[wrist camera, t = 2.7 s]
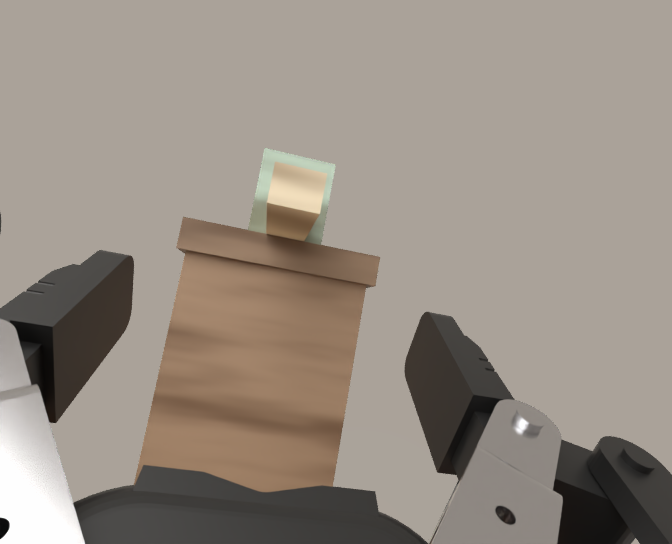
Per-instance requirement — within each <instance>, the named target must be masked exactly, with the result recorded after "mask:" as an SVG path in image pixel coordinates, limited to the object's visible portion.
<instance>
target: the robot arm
mask: <svg viewBox="0 0 672 544" xmlns="http://www.w3.org/2000/svg"><path fill="white" fill-rule="evenodd" d="M0 232H1V214H0ZM133 274H134V261H133V258H132V256H129V255H124V254H118V253H113V252H107V251H103V250H99V251H97V252H96V253H95V254H93V255H92V256H91V257H90V258H88V259H87V260H86V261H84V262H83V263H82V264H81V265H75V264H72V265H69V266H66V267H63V268H60V269H57V270H54V271H52V272H50V273H49V274H47V275H46V276H45V277H43V278H42V279H41V280H39V281H38V283H35V284H34V285H32V286H31V287H30V288H28V289H27V291H26V292H22V293H21V294H20V295H18V296H17V297H15V298H14V299H13V300H11V301H10V302H9V303H7V304H6V305H4V306H3V307H2V308H0V544H631V543H632V542H633V540H634V539H635V538H636V539H637V540H638V541H639V543H640V544H672V475H671V474H670V472H669V471H668V470H667V469H666V468H665V467H664V466H663V465H662V464H661V463H660V462H659V461H658V460H657V459H656V458H654V457H653V456H652V455H651V454H649V453H648V452H646V451H645V450H643V449H642V448H640V447H638V446H637V445H635V444H633V443H631V442H629V441H626V440H623V439H621V438H617V437H611V436H606V437H603V438H601V439H600V441H599V442H598V444H597V445H596V447H595V449H594V450H593V451H590V450H588V449H585V448H582V447H580V446H577V445H574V444H572V443H569V442H566V441H564V440H561V434H560V432H559V430H558V428H557V427H556V425H555V424H554V423H553V422H552V421H551V420H550V419H549V418H548V417H547V416H546V415H545V414H543V413H542V412H540V411H539V410H537V409H535V408H534V407H532V406H530V405H528V404H525V403H523V402H520V401H516V400H514V398H513V397H512V395H511V394H510V392H509V391H508V389H507V388H506V386H505V385H504V383H503V382H502V380H501V379H500V377H499V376H498V374H497V373H496V372H494V368H493V366H492V365H491V363H490V362H488V359H487V357H486V356H485V354H484V353H483V351H482V350H481V348H480V347H479V346H478V345H476V344H475V343H474V342H473V341H472V340H471V339H469V338H468V337H467V336H464V335H463V333H462V331H461V330H460V328H459V327H458V325H457V323H456V322H455V320H454V319H453V318H452V317H451V316H446V315H441V314H435V313H430V312H425V313H424V314H423V315H422V317H421V319H420V322H419V325H418V327H417V330H416V333H415V335H414V338H413V341H412V344H411V346H410V349H409V352H408V355H407V357H406V362H405V377H406V381H407V384H408V387H409V390H410V393H411V396H412V399H413V401H414V404H415V408H416V411H417V414H418V416H419V420H420V422H421V425H422V428H423V431H424V434H425V437H426V440H427V443H428V446H429V449H430V452H431V455H432V458H433V461H434V464H435V467H436V470H437V472H438V473H445V474H453V475H457V477H458V480H459V481H458V483H457V485H456V486H455V488H454V491H453V493H452V495H451V497H450V499H449V501H448V503H447V505H446V507H445V510H444V512H443V514H442V516H441V518H440V520H439V522H438V524H437V526H436V528H435V531H434V533H433V535H432V537H431V539H430V541H429V543H427V542H426V541H424V539H423V538H421V536H419V535H418V534H417V533H415V532H414V531H413V530H411V529H410V528H409V527H407V526H406V525H404V524H402V523H401V522H399V521H398V520H396V519H394V518H392V517H390V516H388V515H386V514H383V513H381V512H378V506H377V500H376V494H375V491H366V490H358V489H349V488H340V487H332V486H323V485H321V486H313V487H305V488H297V489H289V490H281V491H274V492H260V491H256V490H253V489H250V488H248V487H245V486H242V485H239V484H237V483H234V482H231V481H228V480H225V479H223V478H220V477H217V476H214V475H212V474H209V473H206V472H201V471H193V470H184V469H175V468H167V467H158V466H149V465H143V467H142V469H141V472H140V474H139V476H138V479H137V481H136V483H135V485H130V486H123V487H119V488H114V489H110V490H106V491H103V492H100V493H97V494H94V495H91V496H88V497H86V498H84V499H81V500H79V501H76V502H74V503H73V501H72V498H71V494H70V491H69V488H68V485H67V481H66V477H65V474H64V471H63V467H62V464H61V461H60V457H59V454H58V450H57V447H56V444H55V440H54V437H53V433H52V430H51V427H50V424H49V422H51V423H56V422H57V421H58V419H59V418H60V417H61V416H62V414H63V413H64V412H65V410H66V409H67V408H68V406H69V405H70V404H71V402H72V401H73V400H74V398H75V397H76V395H77V394H78V393H79V391H80V390H81V389H82V387H83V386H84V385H85V384H86V382H87V381H88V380H89V378H90V377H91V376H92V374H93V373H94V372H95V370H96V369H97V368H98V366H99V365H100V363H101V362H102V361H103V360H104V358H105V357H106V356H107V354H108V353H109V352H110V350H111V349H112V348H113V346H114V345H115V344H116V342H117V341H118V340H119V338H120V337H121V336H122V334H123V333H124V331H125V330H126V327H127V325H128V323H129V320H130V316H131V310H132V292H133Z"/></svg>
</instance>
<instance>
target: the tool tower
mask: <svg viewBox="0 0 672 544" xmlns="http://www.w3.org/2000/svg"><path fill="white" fill-rule="evenodd" d="M177 248H178V249H179V250H181V251H182V252H183V253H185V257H184V262H183V266H182V271H181V275H180V280H179V284H178V289H177V294H176V298H175V302H174V307H173V311H172V316H171V321H170V325H169V330H168V334H167V338H166V343H165V347H164V352H163V357H162V361H161V365H160V370H159V374H158V379H157V383H156V388H155V392H154V397H153V401H152V406H151V411H150V415H149V419H148V424H147V428H146V433H145V437H144V442H143V447H142V451H141V456H140V460H139V464H138V469H137V473H136V478H135V483H136V481H137V479H138V476H139V474H140V472H141V469H142V467H143V465H149V466H158V467H167V468H175V469H184V470H193V471H201V472H206V473H209V474H212V475H214V476H217V477H220V478H223V479H225V480H228V481H231V482H234V483H237V484H239V485H242V486H245V487H248V488H250V489H253V490H256V491H260V492H274V491H281V490H289V489H297V488H305V487H313V486H321V485H323V486H332V487H333V481H334V475H335V469H336V463H337V457H338V451H339V445H340V439H341V433H342V427H343V421H344V414H345V409H346V404H347V398H348V392H349V386H350V380H351V373H352V368H353V362H354V356H355V349H356V344H357V337H358V332H359V325H360V319H361V314H362V308H363V302H364V296H365V290H366V288H368V287H373V286H375V285H376V278H377V272H378V266H379V260H380V257H377V256H373V255H368V254H363V253H357V252H353V251H348V250H343V249H338V248H333V247H328V246H324V245H319V244H314V243H309V242H304V241H299V240H294V239H289V238H284V237H280V236H275V235H270V234H265V233H260V232H255V231H250V230H245V229H241V228H236V227H231V226H225V225H221V224H216V223H211V222H206V221H201V220H196V219H191V218H186V217H183V220H182V225H181V229H180V233H179V238H178V243H177ZM135 483H134V485H135Z"/></svg>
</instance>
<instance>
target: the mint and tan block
mask: <svg viewBox="0 0 672 544" xmlns="http://www.w3.org/2000/svg"><path fill="white" fill-rule="evenodd" d="M334 171H335V164H330V163H326V162H322V161H318V160H313V159H309V158H305V157H301V156H296V155H292V154H288V153H283V152H279V151H275V150H271V149H267V148H265V150H264V155H263V159H262V164H261V169H260V174H259V179H258V184H257V189H256V194H255V198H254V204H253V208H252V213H251V218H250V223H249V228H248V230H250V231H255V232H260V233H265V234H270V235H275V236H280V237H284V238H289V239H294V240H299V241H304V242H309V243H314V244H319V245H321V242H322V236H323V231H324V225H325V219H326V214H327V209H328V203H329V198H330V193H331V187H332V181H333V176H334Z"/></svg>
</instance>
